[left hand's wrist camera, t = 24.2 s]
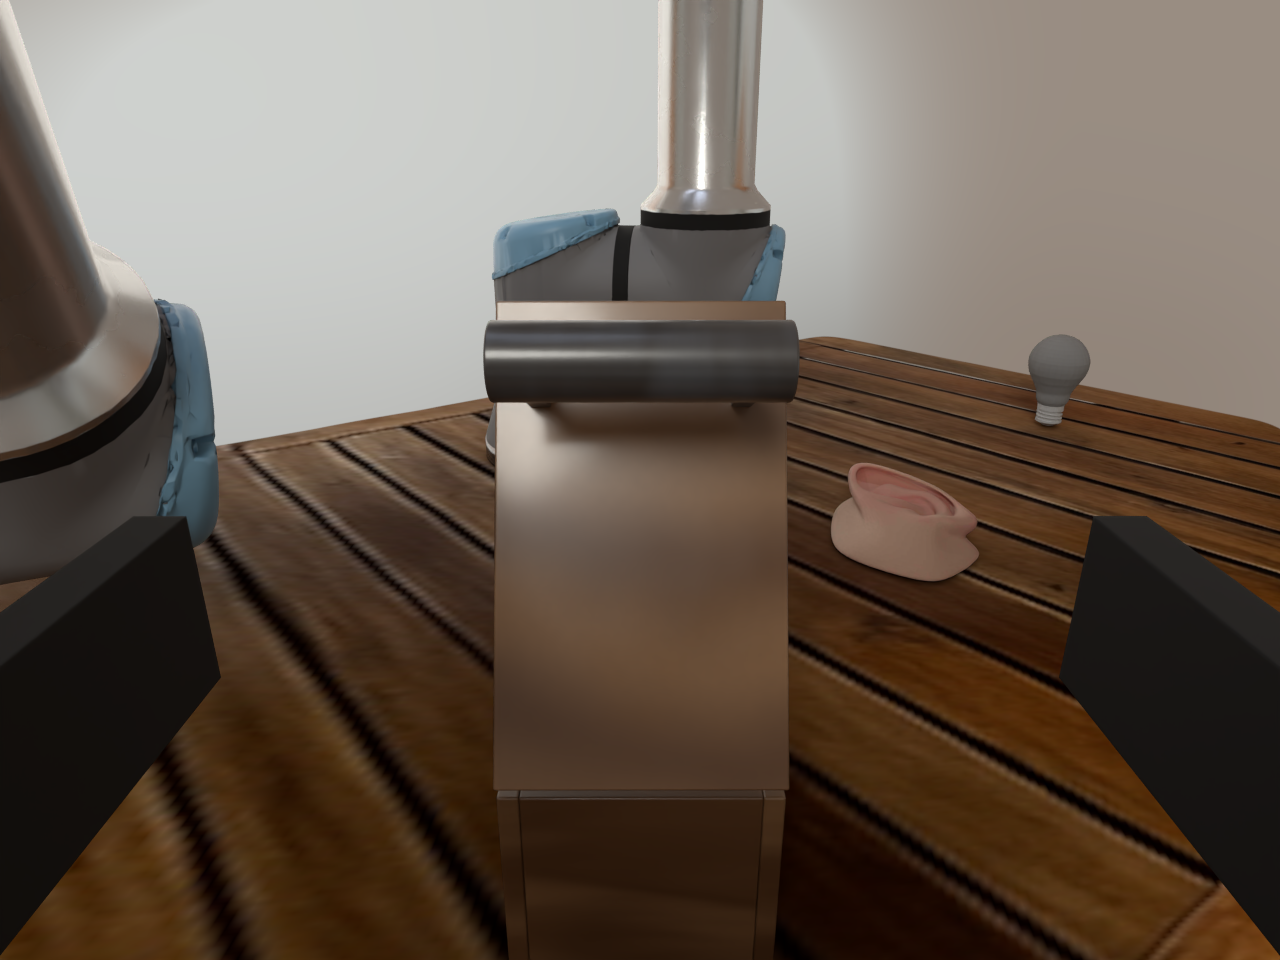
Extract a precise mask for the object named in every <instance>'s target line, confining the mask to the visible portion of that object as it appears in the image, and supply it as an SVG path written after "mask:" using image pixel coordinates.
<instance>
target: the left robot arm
mask: <svg viewBox="0 0 1280 960" xmlns="http://www.w3.org/2000/svg"><path fill="white" fill-rule="evenodd" d="M214 438H215V430H214V408H213V398H212V389H211V380H210V373H209V366H208V359H207V352H206V346H205V341H204V336H203V331H202V327H201V324H200V320H199V318H198V316H197V314H196V312H195V311H194V310H192V309H191V308H189V307H188V306H186V305H183V304H174V303H169V302H167V301H165V300H161V299H158V300H154V299H153V298H152V296H151V294H150V292H149V290H148V288H147V286H146V284H145V283H144V281H143V280H142V279H141V277H140V276H139V275H138V274H137V273H136V272H135V271H134V269H133V268H132V267H131V266H129V265H128V264H127V263H126V262H124V261H123V260H122V259H121V258H119V257H118V256H117V255H115V254H114V253H112V252H110V251H109V250H107V249H106V248H104V247H102V246H100V245H98V244H96V243H94V242H92V241H90V240H89V237H88V234H87V231H86V228H85V225H84V222H83V219H82V216H81V213H80V210H79V207H78V204H77V201H76V198H75V195H74V192H73V189H72V186H71V183H70V180H69V177H68V174H67V171H66V168H65V165H64V162H63V159H62V156H61V153H60V150H59V147H58V144H57V141H56V138H55V135H54V132H53V130H52V126H51V123H50V120H49V118H48V115H47V112H46V109H45V106H44V103H43V100H42V97H41V94H40V91H39V88H38V85H37V82H36V79H35V76H34V73H33V70H32V67H31V64H30V61H29V58H28V55H27V52H26V49H25V46H24V43H23V40H22V37H21V34H20V31H19V28H18V25H17V22H16V19H15V16H14V13H13V10H12V7H11V4H10V1H9V0H0V585H2V584H8V583H13V582H19V581H25V580H31V579H36V578H42V577H48V576H50V577H49V578H47V579H46V580H45V581H43V582H42V583H40V584H39V585H38V586H36V587H35V588H34V589H32V590H31V591H29V592H28V593H27V594H25V595H24V596H23V597H21V598H20V599H18V600H17V601H16V602H14V603H13V604H11V605H10V606H9V607H7V608H6V609H5V610H3V611H2V612H0V955H1V954H2V952H3V951H4V950H5V949H6V947H7V946H8V945H9V944H10V942H11V941H12V940H13V939H14V937H15V936H16V935H17V934H18V932H19V931H20V930H21V929H22V927H23V926H24V925H25V924H26V922H27V921H28V920H29V918H30V917H31V916H32V915H33V913H34V912H35V911H36V910H37V908H38V907H39V906H40V905H41V903H42V902H43V901H44V900H45V898H46V897H47V896H48V895H49V893H50V892H51V891H52V889H53V888H54V887H55V886H56V884H57V883H58V882H59V881H60V879H61V878H62V877H63V876H64V874H65V873H66V872H67V871H68V869H69V868H70V867H71V866H72V864H73V863H74V862H75V861H76V859H77V858H78V857H79V855H80V854H81V853H82V852H83V850H84V849H85V848H86V847H87V845H88V844H89V843H90V842H91V840H92V839H93V838H94V837H95V835H96V834H97V833H98V832H99V830H100V829H101V828H102V826H103V825H104V824H105V823H106V821H107V820H108V819H109V818H110V816H111V815H112V814H113V813H114V811H115V810H116V809H117V808H118V806H119V805H120V804H121V803H122V801H123V800H124V799H125V798H126V796H127V795H128V794H129V792H130V791H131V790H132V789H133V787H134V786H135V785H136V784H137V782H138V781H139V780H140V779H141V777H142V776H143V775H144V774H145V772H146V771H147V770H148V769H149V767H150V766H151V765H152V764H153V762H154V761H155V760H156V758H157V757H158V756H159V755H160V753H161V752H162V751H163V750H164V748H165V747H166V746H167V745H168V743H169V742H170V741H171V740H172V738H173V737H174V736H175V735H176V733H177V732H178V731H179V729H180V728H181V727H182V726H183V724H184V723H185V722H186V721H187V719H188V718H189V717H190V716H191V714H192V713H193V712H194V711H195V709H196V708H197V707H198V706H199V704H200V703H201V702H202V701H203V699H204V698H205V697H206V695H207V694H208V693H209V692H210V690H211V689H212V688H213V687H214V685H215V684H216V683H217V682H218V680H219V679H220V678H221V676H220V671H219V666H218V662H217V657H216V652H215V648H214V643H213V638H212V634H211V629H210V624H209V620H208V615H207V610H206V606H205V601H204V596H203V592H202V587H201V582H200V578H199V573H198V568H197V564H196V559H195V554H194V550H193V548H194V547H196V546H198V545H200V544H201V543H202V542H204V541H205V540H206V539H207V538H208V537H209V536H210V534H211V533H212V531H213V529H214V527H215V525H216V521H217V517H218V507H219V480H218V462H217V452H216V446H215V444H214V442H213V441H214ZM1059 678H1060V679H1061V680H1062V682H1063V683H1064V684H1065V685H1066V687H1067V688H1068V689H1069V690H1070V692H1071V693H1072V694H1073V695H1074V697H1075V698H1076V699H1077V701H1078V702H1079V703H1080V704H1081V706H1082V707H1083V708H1084V709H1085V711H1086V712H1087V713H1088V714H1089V716H1090V717H1091V718H1092V719H1093V721H1094V722H1095V723H1096V724H1097V726H1098V727H1099V728H1100V729H1101V731H1102V732H1103V733H1104V735H1105V736H1106V737H1107V738H1108V740H1109V741H1110V742H1111V743H1112V745H1113V746H1114V747H1115V748H1116V750H1117V751H1118V752H1119V753H1120V755H1121V756H1122V757H1123V758H1124V760H1125V761H1126V762H1127V764H1128V765H1129V766H1130V767H1131V769H1132V770H1133V771H1134V772H1135V774H1136V775H1137V776H1138V777H1139V779H1140V780H1141V781H1142V782H1143V784H1144V785H1145V786H1146V787H1147V789H1148V790H1149V791H1150V792H1151V794H1152V795H1153V796H1154V798H1155V799H1156V800H1157V801H1158V803H1159V804H1160V805H1161V806H1162V808H1163V809H1164V810H1165V811H1166V813H1167V814H1168V815H1169V816H1170V818H1171V819H1172V820H1173V821H1174V823H1175V824H1176V825H1177V827H1178V828H1179V829H1180V830H1181V832H1182V833H1183V834H1184V835H1185V837H1186V838H1187V839H1188V840H1189V842H1190V843H1191V844H1192V845H1193V847H1194V848H1195V849H1196V850H1197V852H1198V853H1199V854H1200V855H1201V857H1202V858H1203V859H1204V861H1205V862H1206V863H1207V864H1208V866H1209V867H1210V868H1211V869H1212V871H1213V872H1214V873H1215V874H1216V876H1217V877H1218V878H1219V879H1220V881H1221V882H1222V883H1223V884H1224V886H1225V887H1226V888H1227V889H1228V891H1229V892H1230V893H1231V895H1232V896H1233V897H1234V898H1235V900H1236V901H1237V902H1238V903H1239V905H1240V906H1241V907H1242V908H1243V910H1244V911H1245V912H1246V913H1247V915H1248V916H1249V917H1250V918H1251V920H1252V921H1253V922H1254V924H1255V925H1256V926H1257V927H1258V929H1259V930H1260V931H1261V932H1262V934H1263V935H1264V936H1265V937H1266V939H1267V940H1268V941H1269V942H1270V944H1271V945H1272V946H1273V947H1274V949H1275V950H1276V951H1277V952H1278V954H1279V955H1280V612H1278V611H1277V610H1275V609H1274V608H1273V607H1271V606H1270V605H1269V604H1267V603H1266V602H1264V601H1263V600H1262V599H1260V598H1259V597H1257V596H1256V595H1255V594H1253V593H1252V592H1251V591H1249V590H1248V589H1246V588H1245V587H1244V586H1242V585H1241V584H1240V583H1238V582H1237V581H1235V580H1234V579H1233V578H1231V577H1230V576H1228V575H1227V574H1226V573H1224V572H1223V571H1222V570H1220V569H1219V568H1217V567H1216V566H1215V565H1213V564H1212V563H1211V562H1209V561H1208V560H1206V559H1205V558H1204V557H1202V556H1201V555H1200V554H1198V553H1197V552H1195V551H1194V550H1193V549H1191V548H1190V547H1188V546H1187V545H1186V544H1184V543H1183V542H1182V541H1180V540H1179V539H1177V538H1176V537H1175V536H1173V535H1172V534H1171V533H1169V532H1168V531H1166V530H1165V529H1164V528H1162V527H1161V526H1159V525H1158V524H1157V523H1155V522H1154V521H1153V520H1151V519H1150V518H1148V517H1147V516H1094V517H1093V522H1092V526H1091V531H1090V536H1089V540H1088V545H1087V550H1086V554H1085V559H1084V564H1083V568H1082V573H1081V578H1080V582H1079V587H1078V592H1077V596H1076V601H1075V606H1074V610H1073V615H1072V620H1071V624H1070V629H1069V634H1068V638H1067V643H1066V648H1065V652H1064V657H1063V662H1062V666H1061V671H1060V676H1059Z"/></svg>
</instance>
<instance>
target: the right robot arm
mask: <svg viewBox="0 0 1280 960" xmlns="http://www.w3.org/2000/svg"><path fill="white" fill-rule="evenodd" d="M762 12H763V0H659V24H658V184H657V186H656V188H655V190H654V191H653V192H652V193H651V194H650V195H649V197H648V198H647V199H646V200H645V201H644V202H643V203H642V204H641V224H640V225H638V226H621V225H618V223H620V218H619V217H618V215H617V212H616V210H614V209H599V210H587V211H578V212H571V213H563V214H557V215H550V216H543V217H537V218H531V219H526V220H520V221H516V222H512V223H508V224H506V225H504V226H503V227H501V228H500V229H499V230H498V232H497V233H496V235H495V238H494V273H493V274H492V279H493V280H494V287H495V303H496V302H497V301H776V298H777V293H778V287H779V282H780V276H781V269H782V260H783V252H784V248H785V231H784V230H783V228H781V227H779V226H777V225H776V224H773V225H772V226H770V204H769V203H768V202H767V201H766V200H765V198H764V197H763V196H762V195H761V194H760V193H759V192H758V190H757V188H756V186H755V184H754V181H755V160H756V139H757V117H758V96H759V75H760V54H761V33H762ZM486 451H487V458H488V460H489V461H490V462H491V463H492V464H494V465H495V403H494V407H493V411H492V414H491V418H490V422H489V426H488V430H487V434H486Z"/></svg>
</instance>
